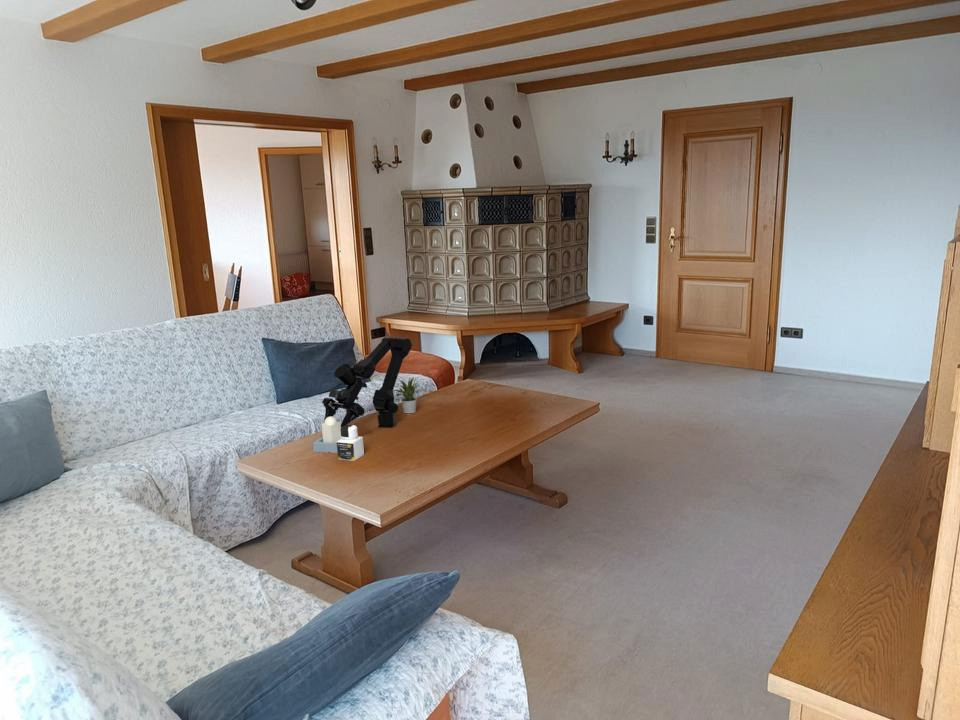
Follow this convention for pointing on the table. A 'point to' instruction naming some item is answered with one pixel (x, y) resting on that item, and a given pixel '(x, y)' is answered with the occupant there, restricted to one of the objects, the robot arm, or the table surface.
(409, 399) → the house plant
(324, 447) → the blue square ring
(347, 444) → the medicine bottle
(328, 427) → the cream egg block
